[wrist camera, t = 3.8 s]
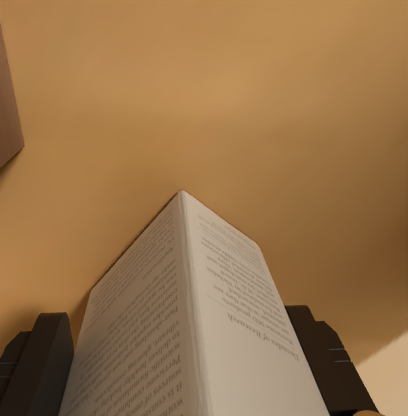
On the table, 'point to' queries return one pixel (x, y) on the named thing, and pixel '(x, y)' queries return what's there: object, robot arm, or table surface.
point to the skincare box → (189, 329)
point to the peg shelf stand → (8, 112)
